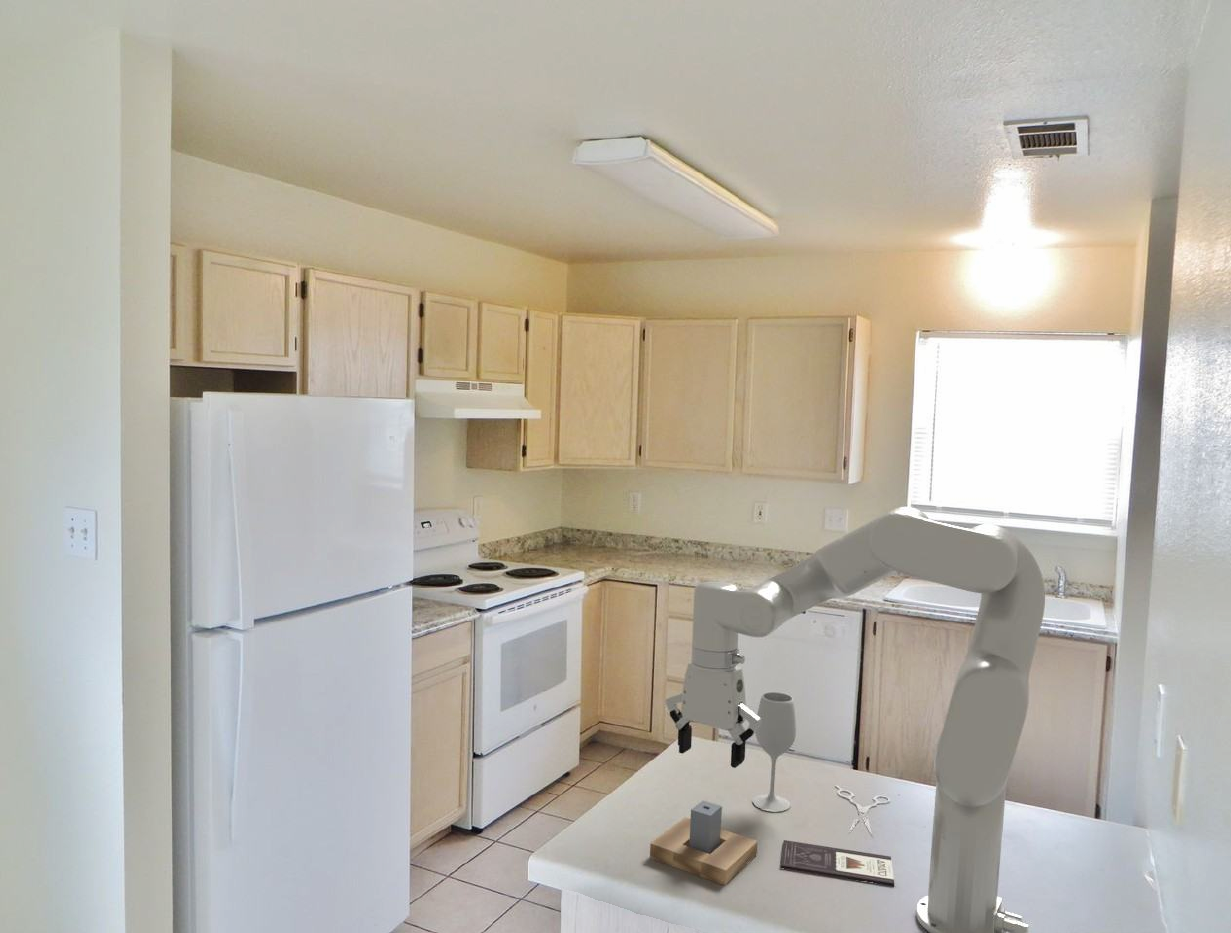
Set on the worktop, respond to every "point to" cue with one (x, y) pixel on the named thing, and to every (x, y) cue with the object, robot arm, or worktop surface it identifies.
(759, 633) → the robot arm
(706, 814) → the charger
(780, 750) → the wineglass
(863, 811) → the scissors
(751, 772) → the worktop surface
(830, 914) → the worktop surface
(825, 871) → the chocolate bar
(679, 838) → the socket board
